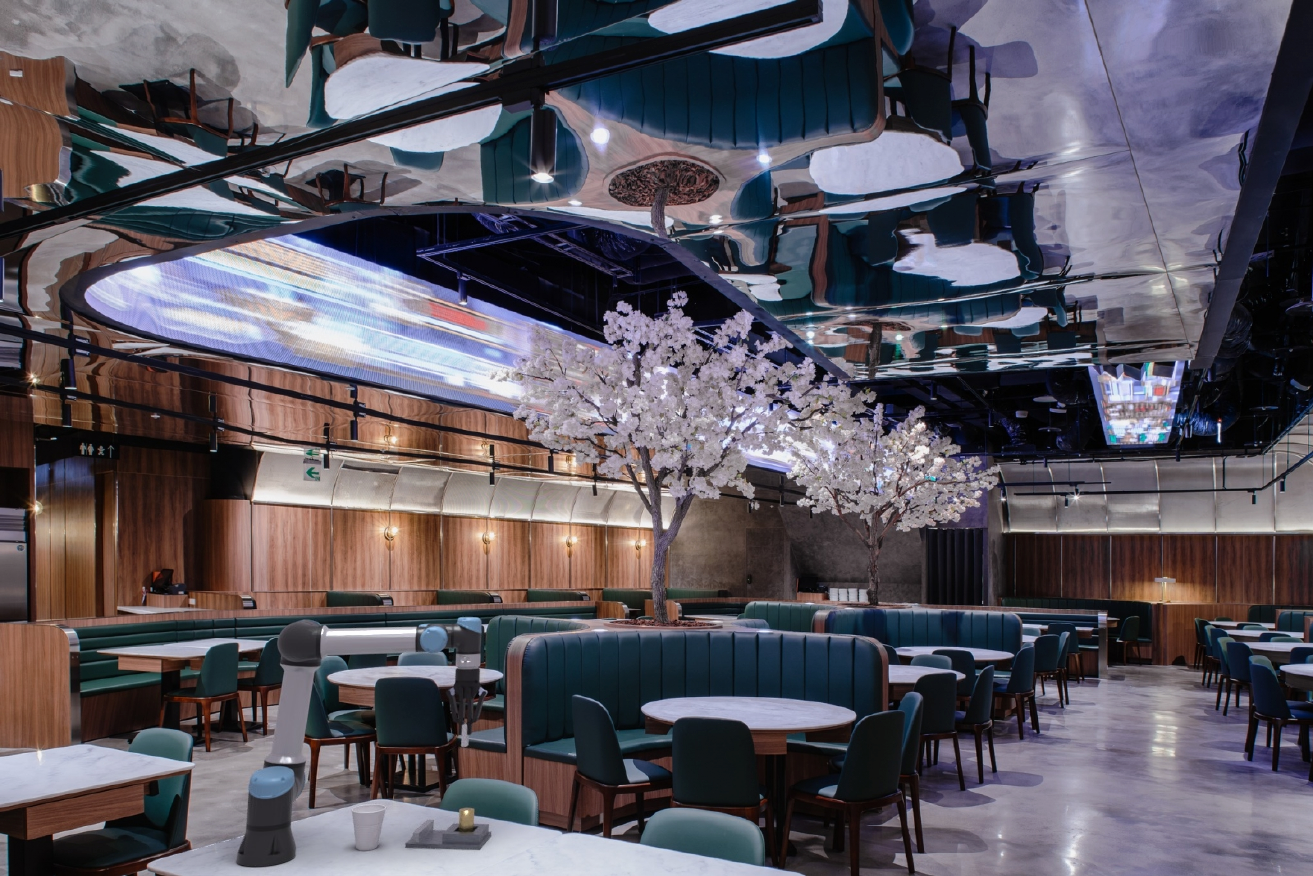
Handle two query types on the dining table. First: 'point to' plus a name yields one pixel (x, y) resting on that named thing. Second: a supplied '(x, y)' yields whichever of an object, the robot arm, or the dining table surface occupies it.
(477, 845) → the jig
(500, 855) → the dining table surface
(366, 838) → the cup
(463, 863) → the dining table surface
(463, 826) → the cylinder
